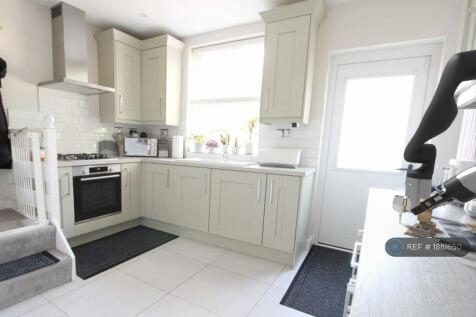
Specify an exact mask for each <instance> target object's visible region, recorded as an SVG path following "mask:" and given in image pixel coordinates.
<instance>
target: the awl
mask: <svg viewBox="0 0 476 317" xmlns="http://www.w3.org/2000/svg"><path fill="white" fill-rule="evenodd" d="M424 200H426V199H421V198H420V202H423V201H424ZM425 204H426V205H427V206H428V207H429V206H431V204H430V203H429V202H427V203H425ZM419 205H420V204H419ZM433 210H434V209H433V208H431V209H429V210H426V211H424V212H422V213H420V214H418V215H416V218H417V219H416V220H417V221H418V222H419V221H421V222H420V228H419V229H423V230H426V224H427V223H431V221H432V218H433Z"/></svg>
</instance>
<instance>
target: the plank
mask: <svg viewBox="0 0 476 317" xmlns="http://www.w3.org/2000/svg"><path fill="white" fill-rule="evenodd" d="M420 222H421V221H418V223H417V222H415V223H414V224H413V225H412V226H410V228H409V229H407V230H406V231H405V232H404V233H403V235H404V236H405V235H406V236H410V237H413V238H416V237H418V238H417V239H419V238H427V237H433V238H434V237H435V236H436V235H437V233H439V231H440V229H441V228H438V227H437V222H435V221H432V220H431V223H427V224H426V230H423V229H419V228H420Z"/></svg>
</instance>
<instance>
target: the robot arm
mask: <svg viewBox="0 0 476 317" xmlns="http://www.w3.org/2000/svg"><path fill="white" fill-rule="evenodd" d="M468 81H470V82H471V81H476V49H471V50H465V51H459V52H457V53H454V54H453V55H452V56H451V57H450V58H449V59H448V60H447V62H446V63H445V66H444V68H443V70H442V74H441V75H440V79H439V82H438V84H437V88H436V90H435V92H434V93H433V96H432V99H431V101H430V103H429V104H428V106H427V109H426V110H425V111H424V114H423V116H422V118H421V121H420V122H419V125H418V126H417V129H416V131H415V132H414V134H413V136H412V137H411V138H410V140H409V141H408V143H407V144H406V146H405V148H404V150H403V159H404V161H405V162H407V163H411V164H421V165H420V166H419V167H417V168H414V169H410V170H407V172H406V176H405V190H404V196H406V197H409V198H410V202H411V209H410V211H409V212H408V213H411V214H413V215H414V216H418V214H420V213H422V212H424V211H426V210H429V209H431V208H433V210H435V209H437V208H441V207H445V206H446V205H449V204H452V203H454V202H455V200H457V202H458V201H459V202H460V203H464V204H467V203H469V202H471V201H473V200H475V199H476V164H475V165H473V166H470V167H467V168H466V169H463V170H462V171H461V172H459V173H457V174H455V175H454V176H452V177H450V178H449V179H447V180H445V181H444V182H443V183H442V185H443V188H445V190H440V191H437V192H435V193H434V194H433V195H432V184H433V175H434V173H435V166H436V161H437V155H438V154H437V147H436V145H435V144H432V143H428V142H429V141H430V140H432V139H434V138H436V137H438V136H439V135H441V134H443V133H444V132H445V131H446V132H447V130H448V129H449V128H450V127H451V125H452V124H453V123H454V122H455V119H456V118H457V116H458V114H459V108H458V104H457V101H456V99H455V93H456V91H457V89H458V87H459V86H460V85H461V83H463V82H468ZM420 198H421V199H426V200H424V201H423V202H420ZM427 202H429V203H430V204H431V206H429V207H428V206H427V205H426V204H425V203H427ZM419 204H420V205H419Z"/></svg>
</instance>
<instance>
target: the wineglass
mask: <svg viewBox="0 0 476 317" xmlns="http://www.w3.org/2000/svg"><path fill="white" fill-rule="evenodd" d="M391 206H392V209H393V211H395V212H397V213H399V214H398V219H399V221H398V224H402V223H401V222H402V221H401V220H402V217H403V214H406V213H410V212H409V211H410V209H411V202H410V198H409V197H406V196H405V195H399V194H397V195H395V194H394V196H393V198H392V204H391Z"/></svg>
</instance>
